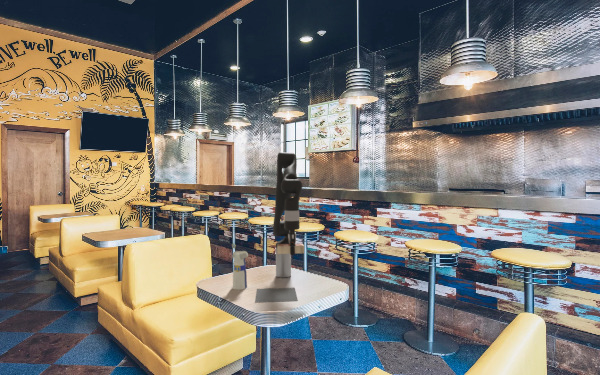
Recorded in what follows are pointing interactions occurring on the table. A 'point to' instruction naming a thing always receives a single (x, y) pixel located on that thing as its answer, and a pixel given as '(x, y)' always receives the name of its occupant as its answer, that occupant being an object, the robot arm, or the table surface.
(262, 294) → the rubber mat
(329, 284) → the table surface
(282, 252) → the tan two-tone tall block
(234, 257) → the water bottle
